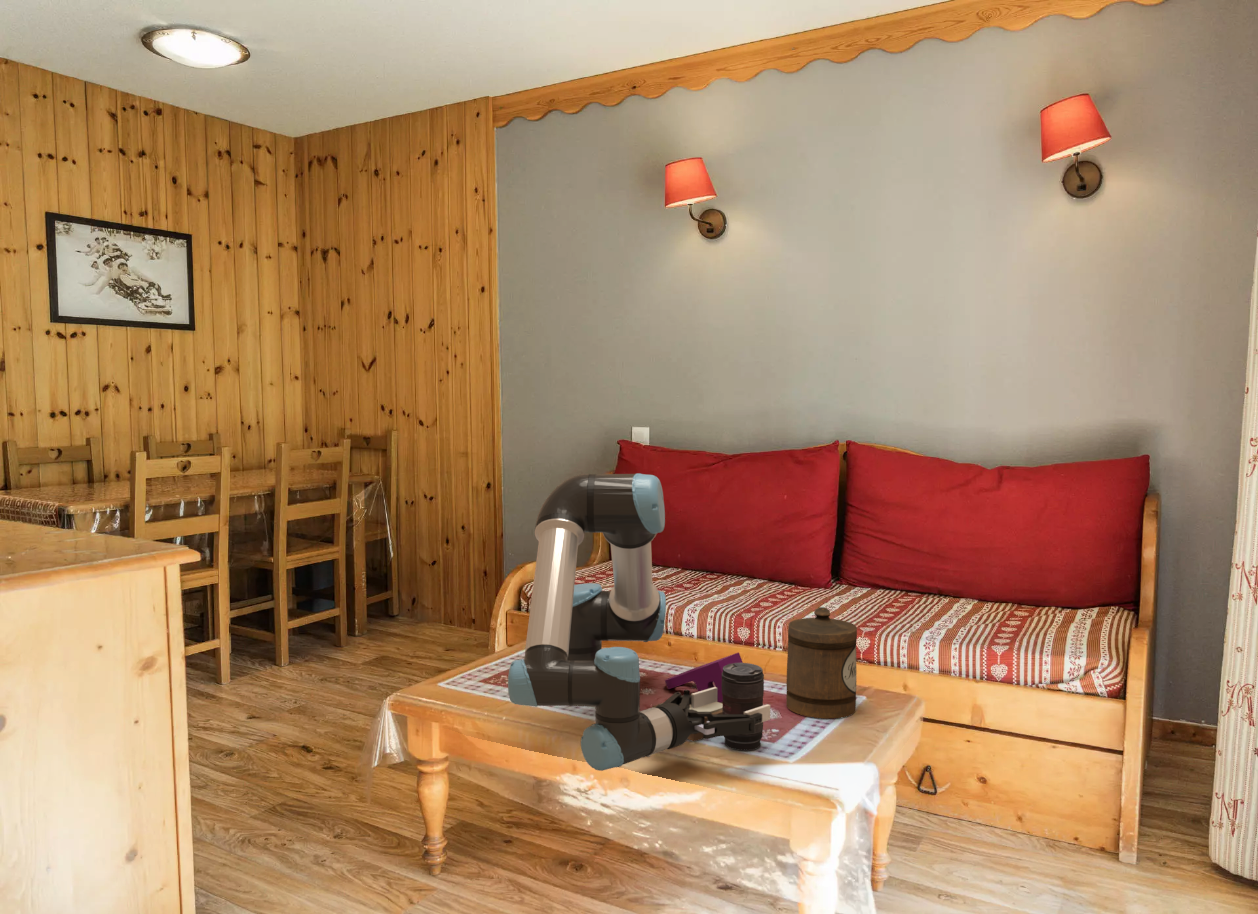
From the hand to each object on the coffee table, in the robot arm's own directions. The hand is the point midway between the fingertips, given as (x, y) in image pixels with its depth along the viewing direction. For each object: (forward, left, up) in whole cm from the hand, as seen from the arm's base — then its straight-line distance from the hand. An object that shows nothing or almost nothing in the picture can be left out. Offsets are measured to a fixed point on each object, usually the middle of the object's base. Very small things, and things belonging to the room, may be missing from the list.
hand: (741, 702), depth 169 cm
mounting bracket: (-28, +17, -9) cm, 34 cm away
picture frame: (-13, 0, -8) cm, 16 cm away
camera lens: (0, 0, -9) cm, 9 cm away
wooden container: (-3, +29, -9) cm, 31 cm away
